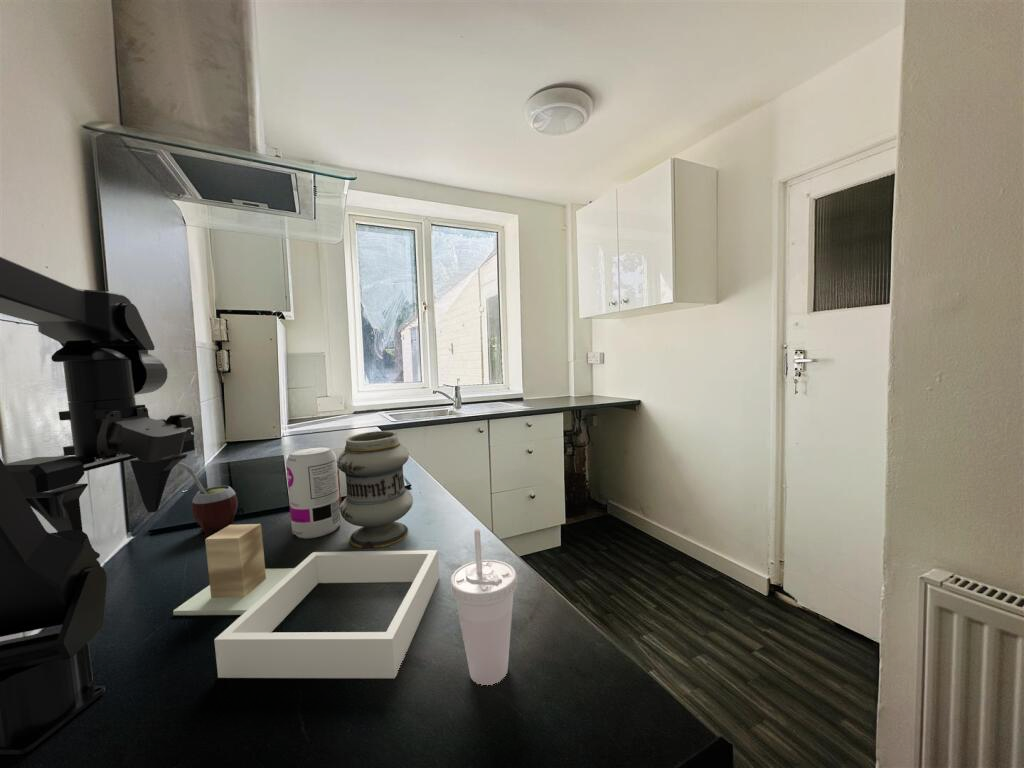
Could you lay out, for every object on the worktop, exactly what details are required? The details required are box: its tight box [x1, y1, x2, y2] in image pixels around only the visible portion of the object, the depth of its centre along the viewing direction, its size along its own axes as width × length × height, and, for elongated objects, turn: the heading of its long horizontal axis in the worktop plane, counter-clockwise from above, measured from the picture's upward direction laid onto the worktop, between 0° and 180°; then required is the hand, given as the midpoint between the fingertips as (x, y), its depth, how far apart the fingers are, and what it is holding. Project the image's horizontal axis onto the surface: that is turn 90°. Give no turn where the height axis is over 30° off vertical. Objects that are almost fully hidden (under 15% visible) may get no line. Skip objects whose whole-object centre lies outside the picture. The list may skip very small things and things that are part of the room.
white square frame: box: [213, 549, 440, 679], centre depth 49 cm, size 18×18×4 cm
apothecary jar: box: [337, 430, 414, 549], centre depth 72 cm, size 12×12×18 cm
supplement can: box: [285, 445, 342, 539], centre depth 76 cm, size 8×8×15 cm
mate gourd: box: [177, 461, 239, 539], centre depth 77 cm, size 8×8×15 cm
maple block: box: [204, 523, 266, 598], centre depth 56 cm, size 4×4×8 cm
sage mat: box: [173, 567, 296, 616], centre depth 57 cm, size 10×10×1 cm
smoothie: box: [450, 528, 518, 687], centre depth 40 cm, size 6×6×14 cm
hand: (117, 526), depth 50 cm, fingers open, 9 cm apart
